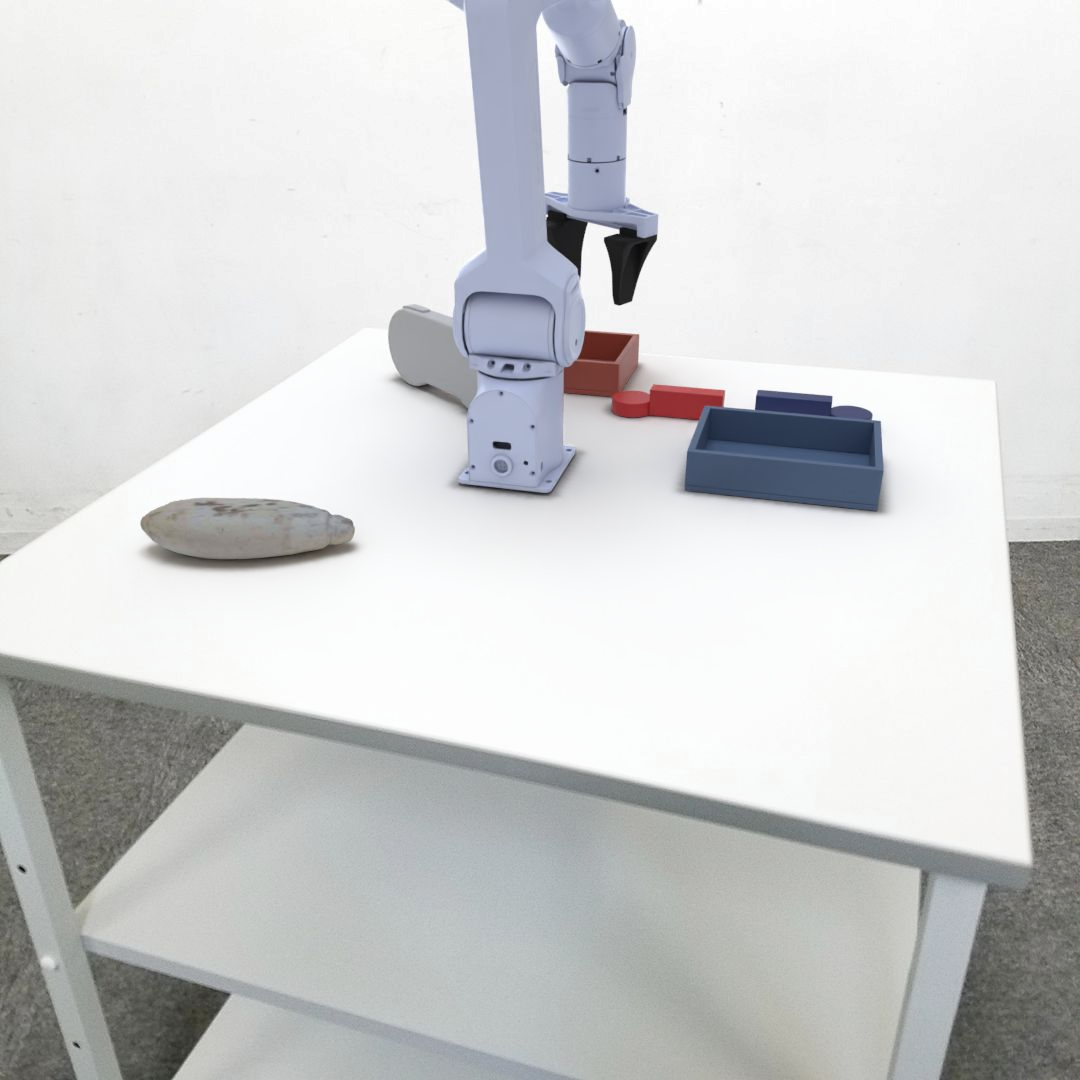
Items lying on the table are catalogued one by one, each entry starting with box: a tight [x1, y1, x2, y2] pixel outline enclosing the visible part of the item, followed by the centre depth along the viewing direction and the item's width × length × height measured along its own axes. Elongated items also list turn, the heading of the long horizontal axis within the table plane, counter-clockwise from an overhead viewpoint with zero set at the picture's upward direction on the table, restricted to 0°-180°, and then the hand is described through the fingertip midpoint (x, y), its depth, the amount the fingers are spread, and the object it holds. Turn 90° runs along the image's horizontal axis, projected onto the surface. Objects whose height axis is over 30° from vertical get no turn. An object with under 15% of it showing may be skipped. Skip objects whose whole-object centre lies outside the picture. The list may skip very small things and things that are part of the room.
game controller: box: [387, 303, 477, 410], centre depth 103 cm, size 20×2×8 cm, turn 39°
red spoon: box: [611, 383, 726, 421], centre depth 100 cm, size 11×4×3 cm, turn 75°
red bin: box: [564, 329, 640, 398], centre depth 111 cm, size 11×15×4 cm
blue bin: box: [684, 406, 885, 512], centre depth 87 cm, size 11×15×4 cm
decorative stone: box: [140, 497, 356, 560], centre depth 75 cm, size 6×16×3 cm, turn 93°
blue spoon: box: [754, 389, 874, 420], centre depth 98 cm, size 11×4×3 cm, turn 75°
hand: (596, 294), depth 107 cm, fingers open, 7 cm apart
